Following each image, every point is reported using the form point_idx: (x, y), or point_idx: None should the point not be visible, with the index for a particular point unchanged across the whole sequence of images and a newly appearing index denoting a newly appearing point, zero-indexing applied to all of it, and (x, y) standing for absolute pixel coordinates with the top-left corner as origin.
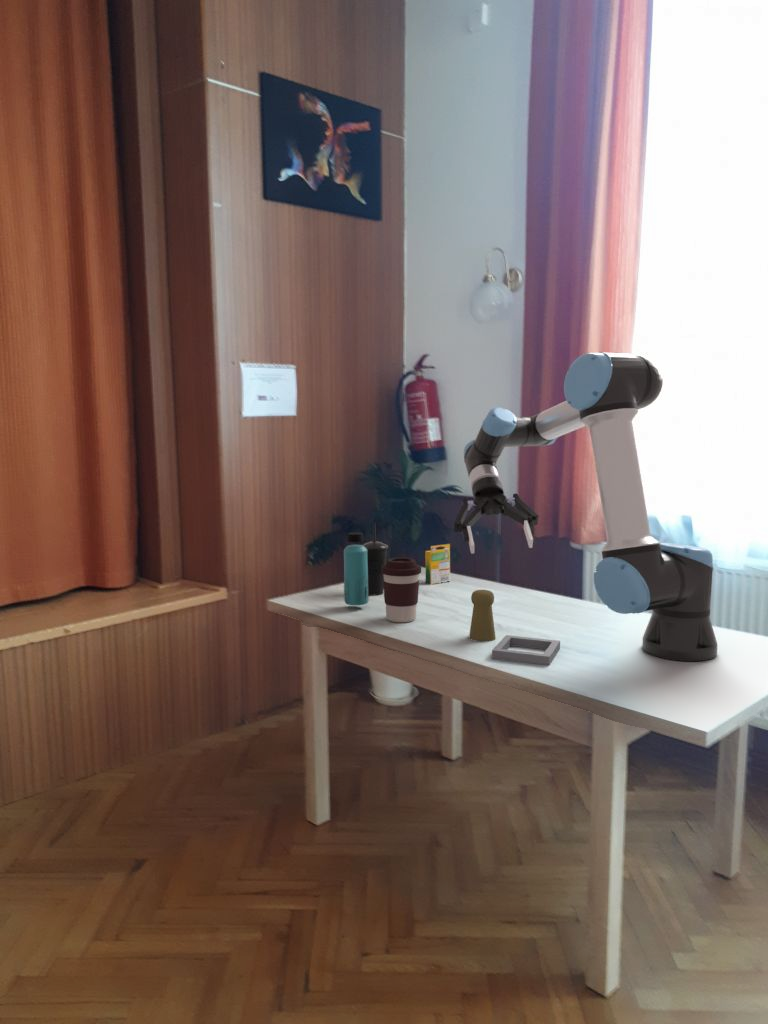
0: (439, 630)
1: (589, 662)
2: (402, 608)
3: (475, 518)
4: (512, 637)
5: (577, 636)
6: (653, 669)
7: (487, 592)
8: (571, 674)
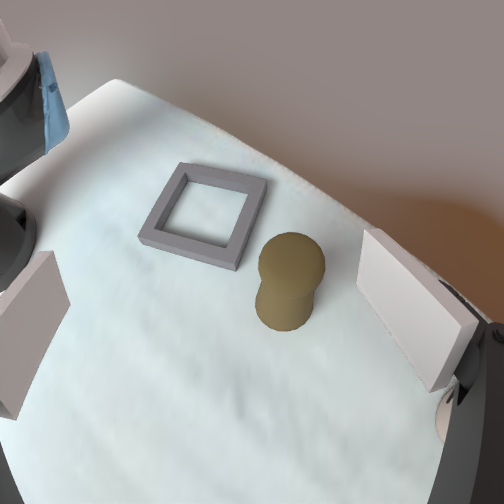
0: (378, 347)
1: (122, 189)
2: None
3: (454, 482)
4: (222, 248)
5: (90, 321)
6: (64, 178)
7: (279, 241)
8: (163, 147)
